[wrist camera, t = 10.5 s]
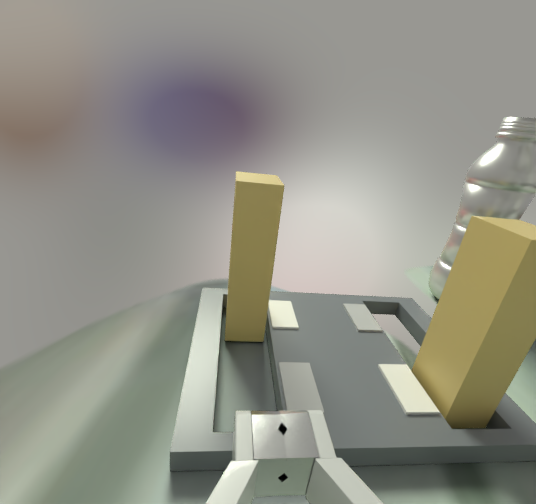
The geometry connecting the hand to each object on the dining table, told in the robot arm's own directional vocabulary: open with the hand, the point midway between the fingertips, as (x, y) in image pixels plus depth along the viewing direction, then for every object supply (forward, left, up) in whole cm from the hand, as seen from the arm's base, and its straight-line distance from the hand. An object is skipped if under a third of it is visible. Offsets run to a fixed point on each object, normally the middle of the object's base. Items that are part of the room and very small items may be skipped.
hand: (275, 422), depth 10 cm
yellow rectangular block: (-15, +1, -7) cm, 17 cm away
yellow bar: (-7, -13, -7) cm, 17 cm away
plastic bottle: (-32, -6, -8) cm, 34 cm away
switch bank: (-11, -6, -7) cm, 15 cm away
